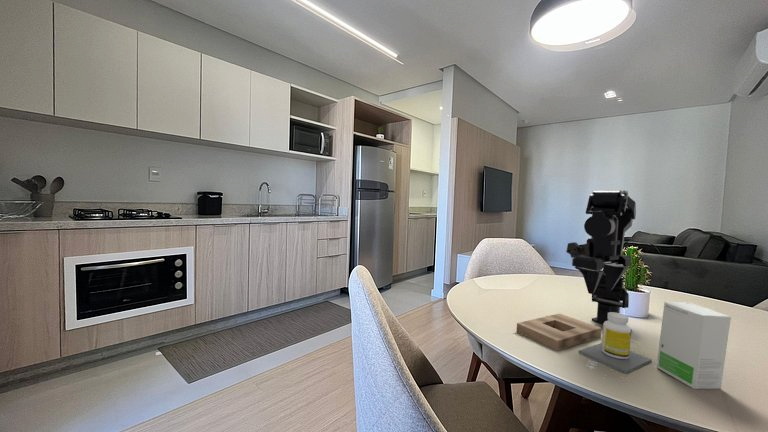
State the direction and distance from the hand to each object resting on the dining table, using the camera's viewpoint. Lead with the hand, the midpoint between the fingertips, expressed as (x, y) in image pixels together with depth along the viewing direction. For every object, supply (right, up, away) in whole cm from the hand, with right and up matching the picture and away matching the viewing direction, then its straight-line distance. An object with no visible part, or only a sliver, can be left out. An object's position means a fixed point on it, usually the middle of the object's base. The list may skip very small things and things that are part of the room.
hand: (600, 291), depth 84 cm
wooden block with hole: (-10, -13, +2) cm, 16 cm away
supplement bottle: (-4, -13, -10) cm, 17 cm away
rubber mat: (-4, -13, -10) cm, 17 cm away
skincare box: (+6, -14, -18) cm, 24 cm away
